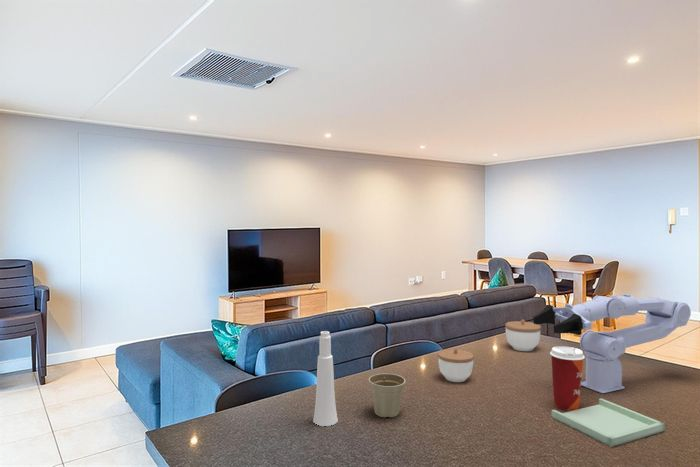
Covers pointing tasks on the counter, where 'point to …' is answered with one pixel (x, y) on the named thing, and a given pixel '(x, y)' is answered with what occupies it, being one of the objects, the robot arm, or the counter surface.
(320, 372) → the cosmetic bottle
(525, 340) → the lidded bowl
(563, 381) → the coffee cup
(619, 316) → the robot arm
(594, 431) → the tray
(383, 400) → the flower pot
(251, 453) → the counter surface
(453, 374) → the lidded jar
